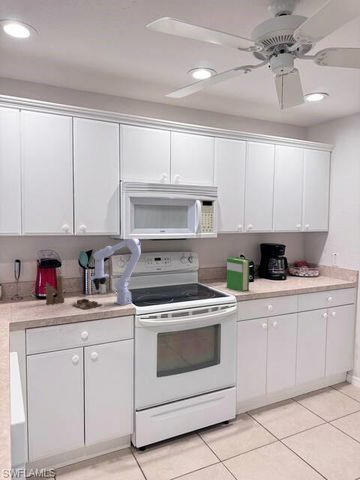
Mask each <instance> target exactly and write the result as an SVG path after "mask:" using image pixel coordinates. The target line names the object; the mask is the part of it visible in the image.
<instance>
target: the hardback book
mask: <svg viewBox="0 0 360 480" xmlns="http://www.w3.org/2000/svg"><path fill="white" fill-rule="evenodd" d="M226 289H230V290H232V291H233V290H234V291H237V292H241V293H242V292H244V291H248V292H249V291H250V260H249V259H244V258H238V257H227V258H226Z"/></svg>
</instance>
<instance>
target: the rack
mask: <svg viewBox="0 0 360 480" xmlns="http://www.w3.org/2000/svg"><path fill="white" fill-rule="evenodd" d="M72 306H73V307H76V308H79V309H82V310H85V311H86V310H91V309H95V308H99V307H102V306H103V304H101V303H98V301H95V300H92V301H91V300H89V299H88V298H82V299H81V298H80V299H76V303H72Z"/></svg>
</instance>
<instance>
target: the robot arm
mask: <svg viewBox="0 0 360 480" xmlns="http://www.w3.org/2000/svg"><path fill="white" fill-rule="evenodd" d="M141 244H142V243H141V242H140V240H139V239H138V238H137V237H133V238H129V239H125V240H122V241H121V242H118V243H117V244H114V245H113V246H111V245H107V246H105V248H103V249H99V251H95V252H94V253H93V259H94V275H92V276H89V281H92V282H93V283H94V284H95V287H96V290H99V284H104V285H105V283H106V281H107V278H110V274H107V273H106V274H105V272H104V267H105V266H104V260H105V258H107V257H109V256H112V255H113V254H114V253H115V252H116V251H117V250H119V249H121V248H127V249H129V250H130V252H131V255H130V259H129V260H128V262H127V264H126V267H125V269H124V271H123V273H122V275H121V277H120V278H118V281H116V283H115V288H116V301H113V303H114V304H118V305H121V306H125V305H130V304H133V301H132V292H131V291H130V290H129V288H128V287H129V285H130V280H131V276H132V273H133V271H134V269H135V267H136V266H137V263H138V261H139V258H140V257H141V255H142V252H141V251H142V250H141Z"/></svg>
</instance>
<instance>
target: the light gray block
mask: <svg viewBox="0 0 360 480" xmlns="http://www.w3.org/2000/svg"><path fill="white" fill-rule="evenodd" d="M92 291H93V292H97V293H101V294H104V293H107V285H106V284H105V283H104V284H100V283H99V290H96V287H95V284H94V282H93V283H92Z"/></svg>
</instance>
